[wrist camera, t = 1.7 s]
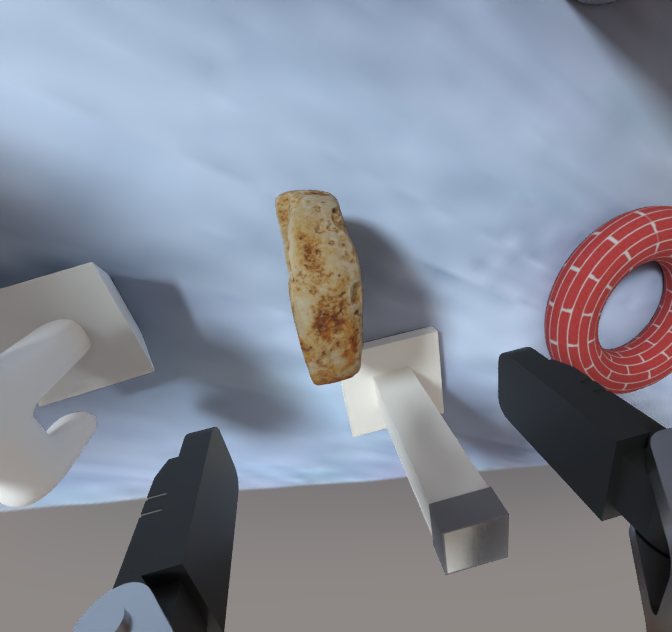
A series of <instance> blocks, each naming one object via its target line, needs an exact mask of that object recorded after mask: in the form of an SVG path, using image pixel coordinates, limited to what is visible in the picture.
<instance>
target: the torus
mask: <svg viewBox="0 0 672 632" xmlns="http://www.w3.org/2000/svg"><path fill="white" fill-rule="evenodd" d="M649 261H656V262H658V263H659V264H660V266H661V268H662V270H663V273H664V290H663V295H662V299H661V302H660V304H659V307H658V309H657V311H656V313H655V315H654V316H653V318H652V319H651V321H650V322H649V324H648V325H647V326H646V327H645V328H644V330H643V331H642V332H641V333H640V334H639V335H637V336H636V337H635V338H634V339H633V340H631V341H630V342H628V343H626V344H625V345H623V346H621V347H618V348H615V349H610V350H607V349H603V348H602V347H601V345H600V343H599V339H598V324H599V319H600V316H601V313H602V310H603V307H604V305H605V303H606V301H607V299H608V297H609V296H610V294H611V293H612V291H613V290H614V288H615V287H616V286H617V285H618V283H619V282H620V281H621V280H622V279H623V278H624V277H625V276H626V275H627V274H628V273H629V272H631V271H632V270H633V269H635V268H636V267H638V266H640V265H642V264H644V263H646V262H649ZM545 338H546V344H547V348H548V351H549V354H550V356H551V358H552V359H554V360H557V361H559V362H562V363H565V364H567V365H570V366H573V367H575V368H576V369H578V370H579V371H581V372H582V373H584V374H585V375H587V376H588V377H590V378H591V380H592V381H596V382H597V383H599V384H600V385H602V386H603V387H605V388H606V390H607V391H611V392H612V393H614V394H623V393H628V392H632V391H636V390H639V389H642V388H645V387H647V386H650V385H652V384H654V383H656V382H658V381H659V380H661V379H663V378H664V377H666V376H667V375H669V374H670V373H672V206H651V207H644V208H640V209H636V210H633V211H630V212H627V213H624V214H622V215H620V216H617V217H616V218H614V219H612V220H610V221H608V222H607V223H605V224H604V225H602V226H601V227H599V228H598V229H597V230H595V231H594V232H593V233H592V234H590V235H589V236H588V237H587V238H586V239H585V240H584V241H583V242H582V243H581V244H580V245H579V246H578V247H577V248H576V249H575V250H574V252H573V253H572V254H571V255H570V257H569V258H568V260H567V261H566V262H565V264H564V265H563V267H562V269H561V271H560V272H559V274H558V276H557V278H556V280H555V282H554V285H553V287H552V290H551V292H550V295H549V299H548V302H547V307H546V313H545Z"/></svg>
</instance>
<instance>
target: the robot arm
mask: <svg viewBox="0 0 672 632" xmlns="http://www.w3.org/2000/svg"><path fill="white" fill-rule="evenodd" d="M578 1H580V2H582V3H586V4H597V5H600V4H605V3H610V2H614V1H617V0H578ZM498 399H499V404H500V407H501V409H502V411H503V413H504V415H505V417H506V418H507V419H508V420H509V421H510V423H511V424H512V425H513V426H514V427H515V428H516V429H517V430H518V431H519V432H520V433H521V434H522V436H523V437H524V438H525V439H526V440H527V441H528V442H529V443H530V444H531V445H532V446H533V447H534V448H535V450H536V451H537V452H538V453H539V454H540V455H541V456H542V457H543V458H544V459H545V460H546V461H547V463H548V464H549V465H550V466H551V467H552V468H553V469H554V470H555V471H556V472H557V473H558V474H559V475H560V477H561V478H562V479H563V480H564V481H565V482H566V483H567V484H568V485H569V486H570V487H571V488H572V489H573V490H574V492H575V493H576V494H577V495H578V496H579V497H580V498H581V499H582V500H583V501H584V503H586V505H587V506H588V507H589V508H590V509H591V510H592V511H593V512H594V513H595V514H596V515H597V517H598V518H599V519H600V520H601V521H604V520H607V519H610V518H614V517H617V516H620V515H622V516H623V517H624V518H625V519H626V520H627V521H628V522H629V523H630V528H629V537H630V542H631V548H632V553H633V558H634V563H635V569H636V574H637V579H638V585H639V590H640V594H641V600H642V605H643V610H644V616H645V622H646V632H672V428H669V429H666V428H665V427H663V426H662V425H660V424H659V423H657V422H656V421H654V420H653V419H651V418H650V417H648V416H647V415H645V414H644V413H642V412H641V411H639V410H638V409H636V408H635V407H633V406H632V405H630V404H629V403H627V402H626V401H624V400H623V399H621V398H620V397H618V396H617V395H615V394H614V393H612V392H611V391H607V390H606V388H605V387H603V386H602V385H600V384H599V383H597V382H596V381H592V380H591V378H590V377H588V376H587V375H585V374H584V373H582V372H581V371H579V370H578V369H576V368H575V367H573V366H570V365H567V364H565V363H562V362H559V361H557V360H554V359H551V360H548V359H547V358H546V357H544V356H543V355H541V354H540V353H538V352H537V351H536V350H534V349H533V348H531V347H524V348H521V349H517V350H513V351H509V352H505V353H502V354H501V355H500V356H499V361H498ZM147 498H148V500H147V501H146V502H145V504H144V507H143V510H142V512H141V515H142V517H141V518H139V520H138V523H137V526H136V529H135V531H134V534H133V536H132V539H131V542H130V545H129V547H128V550H127V552H126V555H125V558H124V561H123V563H122V566H121V569H120V571H119V574H118V577H117V579H116V582H115V585H114V587H113V589H112V590H111V591H109V592H107V593H106V594H105V595H103V596H102V597H101V598H100V599H98V600H97V601H96V602H95V603H94V604H93V605H92V606H91V607H90V608H89V609H88V610H87V611H86V612H85V613H84V615H83V616H82V617H81V619H80V620H79V621H78V623H77V624H76V626H75V628H74V629H73V630H72V632H224V628H225V618H226V607H227V598H228V588H229V579H230V569H231V559H232V550H233V539H234V529H235V520H236V510H237V500H238V477H237V472H236V469H235V466H234V464H233V461H232V459H231V456H230V454H229V452H228V449H227V447H226V445H225V442H224V440H223V437H222V435H221V433H220V431H219V429H218V428H217V427H212V428H209V429H205V430H201V431H197V432H193V433H189V434H187V435H186V436H185V438H184V441H183V444H182V447H181V450H180V454H179V457H176V458H172V459H169V460H168V461H167V462H166V464H165V465H164V466H163V467H162V469H161V470H160V471H159V473H158V474H157V475H156V476H155V478H154V480H153V483H152V486H151V488H150V491H149V494H148V496H147Z"/></svg>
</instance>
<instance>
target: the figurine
mask: <svg viewBox="0 0 672 632" xmlns="http://www.w3.org/2000/svg"><path fill="white" fill-rule="evenodd" d="M152 372H155V369H154V366H153V364H152V361H151V358H150V355H149V352H148V350H147V347H146V344H145V341H144V338H143V336H142V333H141V331H140V329H139V327H138V326H137V324H136V322H135V320H134V319H133V317H132V315H131V313H130V312H129V310H128V308H127V306H126V304H125V303H124V301H123V299H122V297H121V296H120V294H119V292H118V290H117V289H116V287H115V285H114V283H113V281H112V280H111V278H110V276H109V275H108V274H107V273H106V272H104V271H103V270H102V269H101V268H99V267H98V266H97V265H96V264H94V263H93V262H89V263H86V264H82V265H79V266H76V267H72V268H69V269H65V270H62V271H59V272H55V273H52V274H48V275H45V276H42V277H38V278H35V279H31V280H28V281H25V282H21V283H18V284H14V285H11V286H8V287H4V288H1V289H0V503H2V504H4V505H7V506H10V507H23V506H27V505H30V504H32V503H35V502H36V501H38V500H40V499H41V498H43V497H44V496H46V495H47V494H48V493H49V492H51V491H52V490H53V489H54V488H55V487H56V486H57V485H58V483H59V482H60V481H61V480H62V479H63V478H64V476H65V475H66V474H67V472H68V471H69V470H70V468H71V467H72V465H73V464H74V462H75V461H76V459H77V458H78V456H79V455H80V453H81V452H82V450H83V449H84V447H85V446H86V444H87V443H88V441H89V440H90V438H91V437H92V435H93V434H94V432H95V430H96V428H97V424H98V422H97V419H96V417H95V416H94V415H92V414H90V413H88V412H74V413H70V414H67V415H65V416H63V417H61V418H59V419H58V420H57V421H55V422H54V423H53V424H52V425H51V426H50V428H49V429H48V430H47V431H45V430H44V429H43V427H42V426H41V425H40V424H39V422H38V421H37V420H36V419H35V417H34V416H33V414H34V410H35V406H36V404H38V405H39V407H42V406H45V405H48V404H51V403H55V402H58V401H61V400H64V399H68V398H71V397H74V396H77V395H81V394H84V393H87V392H90V391H94V390H97V389H100V388H103V387H107V386H110V385H113V384H116V383H120V382H123V381H126V380H129V379H133V378H136V377H139V376H142V375H146V374H149V373H152Z"/></svg>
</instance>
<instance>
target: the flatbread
mask: <svg viewBox="0 0 672 632" xmlns="http://www.w3.org/2000/svg"><path fill="white" fill-rule="evenodd" d="M275 207H276V214H277V218H278V222H279V226H280V231H281V235H282V239H283V243H284V249H285V257H286V263H287V268H288V272H289V275H290V278H289V283H288V285H289V295H290V302H291V308H292V313H293V317H294V322H295V326H296V330H297V334H298V338H299V341H300V345H301V349H302V352H303V355H304V359H305V362H306V365H307V367H308V370H309V373H310V377H311V379H312V381H313V383H314V384H316V385H324V384H330V383H335V382H339V381H343V380H346V379H349V378H352V377H353V376H354V375H355V374H357V373H358V372H359V370H360V368H361V355H362V348H363V346H364V344H363V333H362V325H363V317H362V308H363V286H362V277H361V269H360V263H359V259H358V255H357V251H356V249H355V246H354V244H353V242H352V240H351V238H350V236H349V233H348V231H347V228H346V225H345V222H344V218H343V216H342V213H341V210H340V206H339V203H338V201H337V199H336V198H335V197H334V196H333V195H332V194H330V193H328V192H324V191H319V190H295V191H289V192H285V193H283V194H280V195H279V196H278V197H276V200H275Z"/></svg>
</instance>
